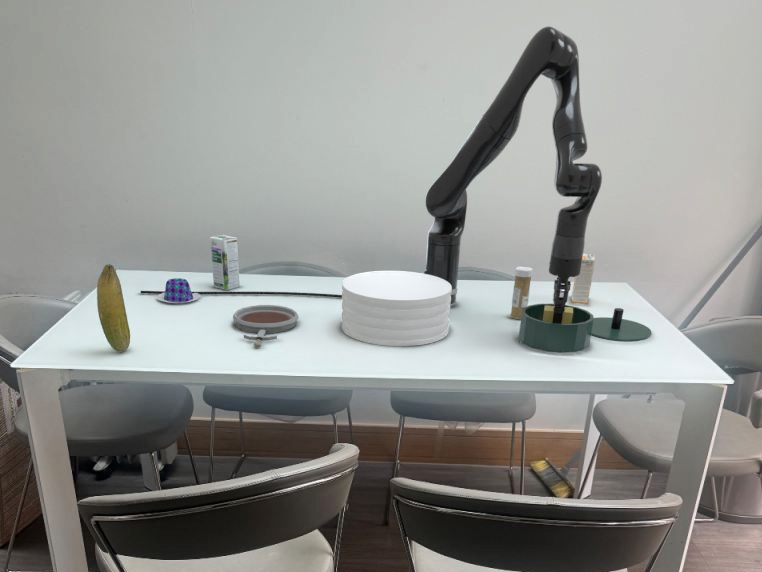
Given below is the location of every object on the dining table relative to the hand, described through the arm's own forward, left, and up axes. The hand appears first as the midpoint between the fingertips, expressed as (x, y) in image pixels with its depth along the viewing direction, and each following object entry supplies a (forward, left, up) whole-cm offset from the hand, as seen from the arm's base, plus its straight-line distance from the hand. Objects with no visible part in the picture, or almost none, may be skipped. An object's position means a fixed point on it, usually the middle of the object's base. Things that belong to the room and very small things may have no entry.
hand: (556, 323), depth 192 cm
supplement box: (+7, +41, -5) cm, 42 cm away
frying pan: (-73, -13, -5) cm, 74 cm away
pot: (0, 0, -5) cm, 5 cm away
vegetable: (-100, -38, -5) cm, 107 cm away
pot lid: (+16, +14, -4) cm, 22 cm away
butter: (0, 0, 0) cm, 0 cm away
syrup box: (-97, +22, -5) cm, 100 cm away
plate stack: (-41, -1, -5) cm, 41 cm away
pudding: (-105, +6, -5) cm, 105 cm away
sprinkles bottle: (-10, +19, -5) cm, 22 cm away
